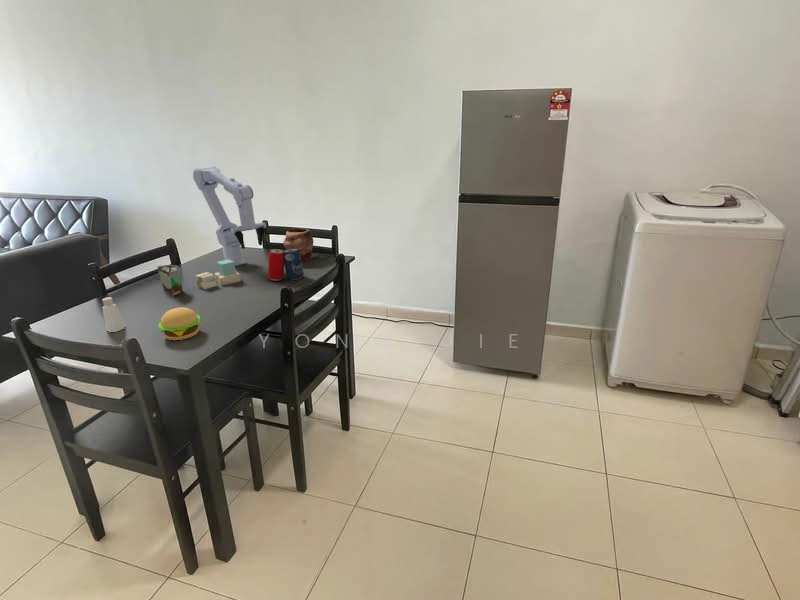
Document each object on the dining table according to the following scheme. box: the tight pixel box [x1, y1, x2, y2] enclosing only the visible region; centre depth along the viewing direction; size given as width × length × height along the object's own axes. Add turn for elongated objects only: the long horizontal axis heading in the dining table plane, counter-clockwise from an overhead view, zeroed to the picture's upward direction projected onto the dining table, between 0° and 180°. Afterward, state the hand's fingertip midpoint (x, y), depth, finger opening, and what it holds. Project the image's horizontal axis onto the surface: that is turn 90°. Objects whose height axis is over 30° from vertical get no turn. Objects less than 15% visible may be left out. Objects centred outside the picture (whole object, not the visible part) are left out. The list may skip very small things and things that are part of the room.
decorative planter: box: [282, 228, 314, 263], centre depth 211 cm, size 20×12×14 cm, turn 164°
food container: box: [157, 264, 184, 298], centre depth 176 cm, size 12×6×10 cm, turn 47°
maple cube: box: [195, 271, 217, 290], centre depth 182 cm, size 5×5×5 cm
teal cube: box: [216, 259, 237, 276], centre depth 186 cm, size 5×5×5 cm
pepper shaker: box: [101, 296, 126, 333], centre depth 145 cm, size 5×5×11 cm
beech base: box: [214, 269, 242, 286], centre depth 188 cm, size 8×8×4 cm
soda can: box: [283, 248, 304, 281], centre depth 187 cm, size 7×7×12 cm
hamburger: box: [158, 306, 202, 342], centre depth 142 cm, size 12×12×9 cm
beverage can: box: [267, 248, 285, 281], centre depth 185 cm, size 6×6×12 cm
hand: (251, 246), depth 197 cm, fingers open, 7 cm apart
